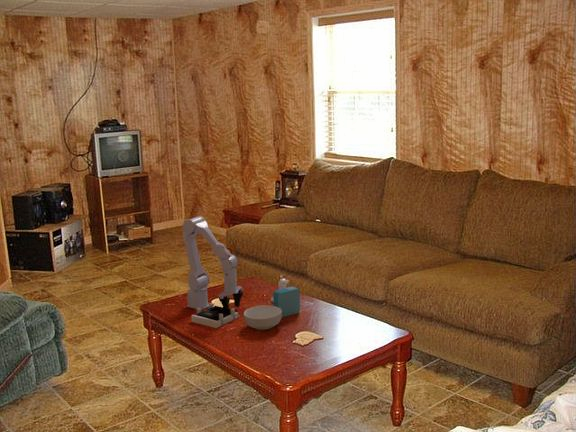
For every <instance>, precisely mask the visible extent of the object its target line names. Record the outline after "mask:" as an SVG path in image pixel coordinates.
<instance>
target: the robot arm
mask: <svg viewBox="0 0 576 432" xmlns="http://www.w3.org/2000/svg"><path fill="white" fill-rule="evenodd" d="M181 227H182V229H183V230H182V239H183V243H184V244H183V245H184V247H185V248H184V249H185V251H186V257H187V259H188V260H187V261H188V265H189V269H190V272H189V273H188V276H187V277H188V282H187V283H188V287H189V289H188V290H187V305H186V306H187V307H188V308H191V309H194V310H197V308H201V311H203V310H205V309H206V308H207V309H208V308H209V301H208V300H209V299H208V298H209V297H208V286H209V284H210V276H209V275H208V274H207V270H206V269H204V268H203V266H202V263H201V258H200V253H199V249H198V246H197V245H198V244H197V240H196V236H197V235H199V236H202V237H203V238H204V239H205V241H207V243H208V244H209V245H210V246H211V247H212V253H213V254H214V255H215V256H216V258H217V259H218V260H219V261H220V267H221V269H222V272H223V281H224V282H223V283H224V290H223V291H222V292H221V293H219V294H218V300H219V301H220V303H221V307H223V308H227V309H230V302H231V298H229V296H233V303H234V304H233V305H234V307H236V308H239V307H240V304H241V301H242V300H241V299H242V297H243V295H244V292H243V286H240V285H238V284H237V266H238V264H239V260H238V258H237V256H236V255H234V254H232V253H230V252H229V250H228V249H227V247H226V245H225V244H223V243H221V242H219V241H218V240H217V239H216V237H215V235H214V234H213V232H212V231H211V229H210V227H209V226H208V222H207V221H206V220H205V218H204V217H203V216H202V215H196V216H195V217H192V218H190V219H189V218H188V219H186V220H185V221H184V222H183V223H182V225H181Z"/></svg>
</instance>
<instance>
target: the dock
mask: <svg viewBox="0 0 576 432" xmlns="http://www.w3.org/2000/svg"><path fill="white" fill-rule="evenodd" d="M208 304H209V307H208V309H209V308H211V307H213V306H214V305H213V302H208ZM230 310H231V315H229V316H227V317H225V318H223V314H219V320H218V321H216V320H212V319H208V318H204V317H201V316H197V314H198V313H200V312H202V310H201V308H197V309H196V314H192V315H191V322H192V323H195V324H200V325H203V326H206V327H211V328H214V329H218V328H219V327H222V326H224V325H226V324H227V323H230V322H232V321H235V320H236V319H238V318H239V312H237V311H235V308H234V307H233V308H230Z"/></svg>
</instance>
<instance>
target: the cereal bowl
mask: <svg viewBox="0 0 576 432" xmlns="http://www.w3.org/2000/svg"><path fill="white" fill-rule="evenodd" d="M281 317H282V311H281V309H280V308H278V307H275V306H274V305H266V304H265V305H256V306H251V307H249V308H247V309H245V310H244V312H243V319H244V322H245V323H246V325H247V326H249V327H250V328H253V329H256V330H260V331H264V330H265V331H266V330H269V329H272V328H273V327H276V325H278V324H279V323H280V322H281V320H282V318H283V317H282V318H281Z"/></svg>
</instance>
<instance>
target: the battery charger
mask: <svg viewBox="0 0 576 432" xmlns="http://www.w3.org/2000/svg"><path fill="white" fill-rule="evenodd" d="M196 314H197V313H196ZM219 314H223V318H225V317H227V316H229V315H231V308H229V309H227V308H223V306H218V305H213V307H211V308H209V307H208V308H207V309H203V310H201V312H200V313H198V314H197V316H201V317H204V318H208V319H212V320H216V321H218V320H219Z"/></svg>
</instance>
